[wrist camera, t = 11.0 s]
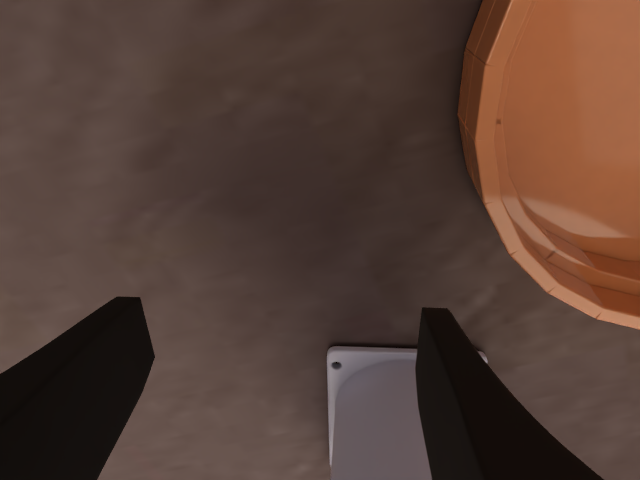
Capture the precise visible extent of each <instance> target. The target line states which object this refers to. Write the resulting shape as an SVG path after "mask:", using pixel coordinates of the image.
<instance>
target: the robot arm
mask: <svg viewBox="0 0 640 480" xmlns="http://www.w3.org/2000/svg"><path fill="white" fill-rule="evenodd" d="M154 358H155V355H154V351H153V347H152V343H151V339H150V335H149V331H148V327H147V323H146V319H145V315H144V311H143V307H142V303H141V299H140V297H116V298H114V299H113V300H111V301H109V302H108V303H106V304H105V305H103V306H102V307H100V308H99V309H97V310H96V311H95V312H93V313H92V314H90V315H89V316H87V317H86V318H84V319H83V320H82V321H80V322H79V323H77V324H76V325H74V326H73V327H72V328H70V329H69V330H67V331H66V332H64V333H63V334H61V335H60V336H58V337H57V338H56V339H54V340H53V341H51V342H50V343H48V344H47V345H45V346H44V347H42V348H41V349H39V350H38V351H36V352H34V353H33V354H31V355H30V356H28V357H27V358H25V359H23V360H22V361H20V362H19V363H17V364H16V365H14V366H12V367H11V368H9V369H8V370H6V371H5V372H3V373H1V374H0V480H97V479H98V477H99V475H100V473H101V471H102V469H103V467H104V465H105V463H106V461H107V459H108V457H109V455H110V453H111V452H112V450H113V448H114V446H115V444H116V442H117V440H118V438H119V436H120V434H121V433H122V431H123V429H124V427H125V425H126V423H127V421H128V419H129V417H130V415H131V413H132V411H133V409H134V408H135V406H136V404H137V402H138V400H139V398H140V396H141V394H142V391H143V389H144V386H145V383H146V381H147V378H148V375H149V373H150V370H151V367H152V364H153V361H154ZM333 362H339V363H340V364H335V363H333ZM327 384H328V420H329V456H330V466H331V479H330V480H604V479H602V478H601V477H600V476H599V475H597V474H596V473H595V472H594V471H593V470H591V469H590V468H589V467H588V466H587V465H586V464H584V463H583V462H582V461H581V460H580V459H578V458H577V457H576V456H575V455H574V454H572V453H571V452H570V451H569V450H568V449H567V448H565V447H564V446H563V445H562V444H561V443H560V442H559V441H558V440H557V439H555V438H554V437H553V436H552V435H551V434H550V433H549V432H548V431H547V430H546V429H545V428H544V427H543V426H542V425H541V424H540V423H539V422H538V421H537V420H536V419H535V418H534V417H533V416H532V415H531V414H530V413H529V412H528V411H527V410H526V409H525V408H524V407H523V406H522V404H521V403H520V402H519V401H518V400H517V399H516V398H515V397H514V396H513V394H512V393H511V392H510V391H509V390H508V389H507V388H506V386H505V385H504V384H503V383H502V382H501V381H500V379H499V378H498V377H497V376H496V374H495V373H494V372H493V371H492V369H491V368H490V367H489V366H488V364H487V358H486V355H485V354H484V353H483V352H481V351H477V350H476V349H475V347H474V346H473V344H472V343H471V342H470V340H469V339H468V337H467V336H466V334H465V333H464V332H463V330H462V329H461V327H460V326H459V324H458V323H457V321H456V319H455V318H454V316H453V315H452V313H451V312H450V311H449V310H448V309H447V308H422V312H421V321H420V330H419V339H418V348H417V349H407V348H378V347H348V346H334V347H331V348H329V350H328V352H327Z"/></svg>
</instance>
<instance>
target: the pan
mask: <svg viewBox="0 0 640 480" xmlns="http://www.w3.org/2000/svg"><path fill="white" fill-rule="evenodd" d="M458 120H459V126H460V133H461V139H462V145H463V151H464V158H465V164H466V169H467V171H468V174H469V176H470V178H471V180H472V182H473V184H474V186H475V188H476V190H477V192H478V194H479V196H480V198H481V200H482V202H483V204H484V206H485V208H486V210H487V212H488V214H489V216H490V218H491V220H492V222H493V224H494V226H495V228H496V230H497V232H498V234H499V236H500V238H501V240H502V242H503V244H504V246H505V248H506V250H507V252H508V254H509V255H510V256H511V257H512V258H513V259H514V260H515V261H516V262H517V263H518V264H519V265H520V266H521V267H522V268H523V269H524V270H525V271H526V272H527V273H528V274H529V275H530V276H531V277H532V278H533V280H534V281H535V282H536V283H537V284H538V285H539V286H540V287H541V288H542V289H543V290H544V291H546V292H547V293H548V294H550V295H552V296H554V297H556V298H558V299H559V300H561V301H563V302H565V303H567V304H569V305H571V306H572V307H574V308H576V309H578V310H580V311H582V312H583V313H585V314H587V315H589V316H591V317H593V318H596V319H598V320H602V321H606V322H610V323H614V324H619V325H623V326H627V327H631V328H635V329H639V330H640V0H483V1H482V4H481V7H480V9H479V12H478V15H477V17H476V20H475V23H474V26H473V28H472V31H471V34H470V36H469V39H468V42H467V45H466V49H465V52H464V61H463V70H462V79H461V88H460V96H459V105H458Z"/></svg>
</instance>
